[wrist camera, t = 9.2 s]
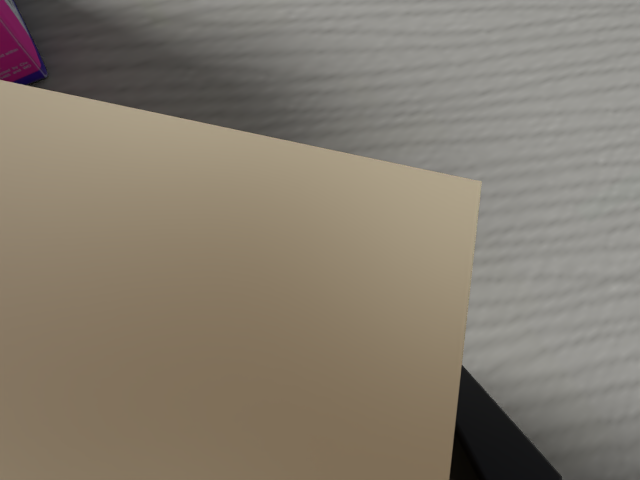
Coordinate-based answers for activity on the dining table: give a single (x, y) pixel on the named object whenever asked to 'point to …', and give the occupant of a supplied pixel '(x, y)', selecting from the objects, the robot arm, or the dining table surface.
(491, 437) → the robot arm
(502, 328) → the dining table surface
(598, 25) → the dining table surface
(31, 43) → the supplement box
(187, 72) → the dining table surface
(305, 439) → the maple block
